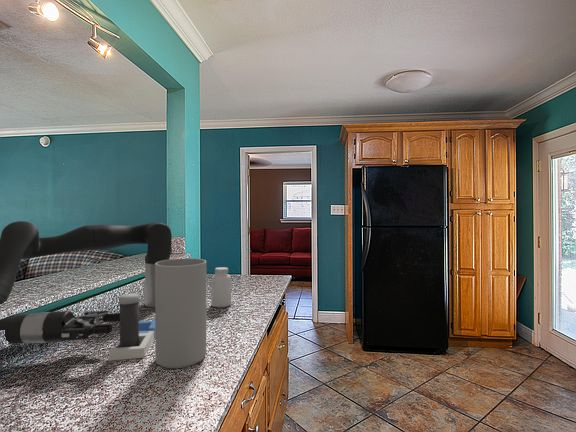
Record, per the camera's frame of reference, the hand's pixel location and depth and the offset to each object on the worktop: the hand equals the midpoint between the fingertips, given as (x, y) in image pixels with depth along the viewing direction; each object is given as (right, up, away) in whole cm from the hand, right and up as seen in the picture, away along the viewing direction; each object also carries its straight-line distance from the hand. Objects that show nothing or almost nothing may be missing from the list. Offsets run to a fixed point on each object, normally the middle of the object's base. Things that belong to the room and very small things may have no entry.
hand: (116, 322), depth 84 cm
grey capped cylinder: (+3, -8, +1) cm, 9 cm away
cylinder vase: (+18, -9, -3) cm, 20 cm away
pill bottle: (+19, -8, +43) cm, 47 cm away
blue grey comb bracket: (+2, -8, +7) cm, 11 cm away
